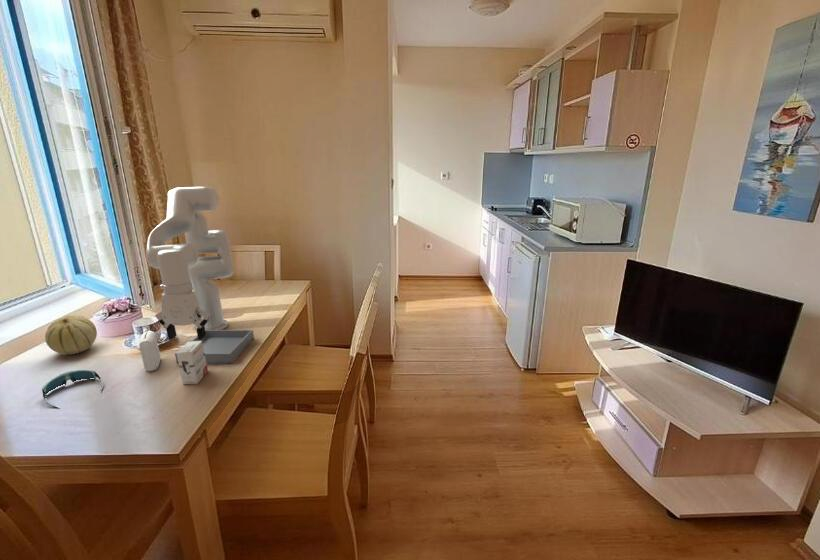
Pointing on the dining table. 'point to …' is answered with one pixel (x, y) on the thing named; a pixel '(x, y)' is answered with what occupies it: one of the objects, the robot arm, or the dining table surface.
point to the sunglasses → (66, 376)
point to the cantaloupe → (70, 334)
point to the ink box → (192, 362)
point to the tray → (224, 345)
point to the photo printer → (149, 351)
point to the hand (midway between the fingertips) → (187, 338)
